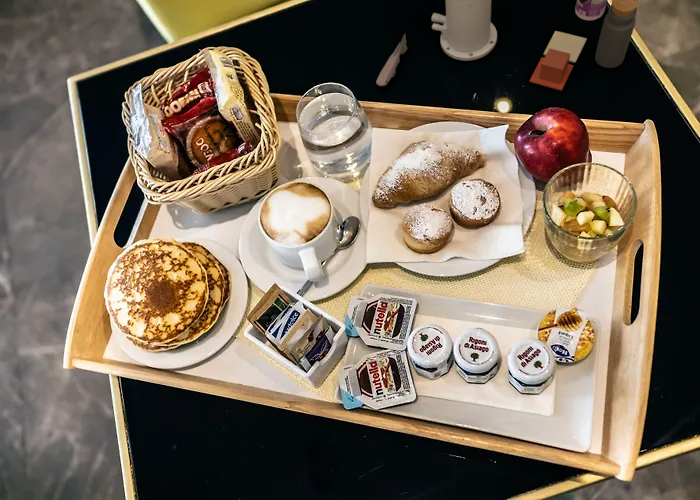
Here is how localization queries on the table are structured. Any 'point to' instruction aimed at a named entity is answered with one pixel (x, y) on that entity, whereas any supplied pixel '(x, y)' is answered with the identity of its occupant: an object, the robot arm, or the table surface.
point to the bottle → (616, 33)
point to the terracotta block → (554, 66)
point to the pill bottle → (590, 9)
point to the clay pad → (549, 84)
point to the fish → (391, 64)
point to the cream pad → (566, 44)
